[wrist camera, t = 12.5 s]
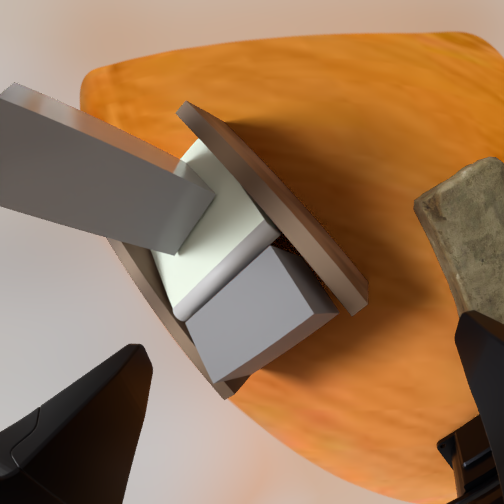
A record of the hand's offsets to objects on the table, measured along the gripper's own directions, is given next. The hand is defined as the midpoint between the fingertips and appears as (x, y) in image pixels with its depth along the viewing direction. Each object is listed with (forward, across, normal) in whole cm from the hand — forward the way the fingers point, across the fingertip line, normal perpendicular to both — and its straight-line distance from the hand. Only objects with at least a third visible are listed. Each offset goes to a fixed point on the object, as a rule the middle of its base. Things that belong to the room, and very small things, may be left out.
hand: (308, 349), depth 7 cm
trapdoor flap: (+13, +3, +3) cm, 13 cm away
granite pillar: (+12, +7, -1) cm, 14 cm away
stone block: (+9, -12, +3) cm, 16 cm away
